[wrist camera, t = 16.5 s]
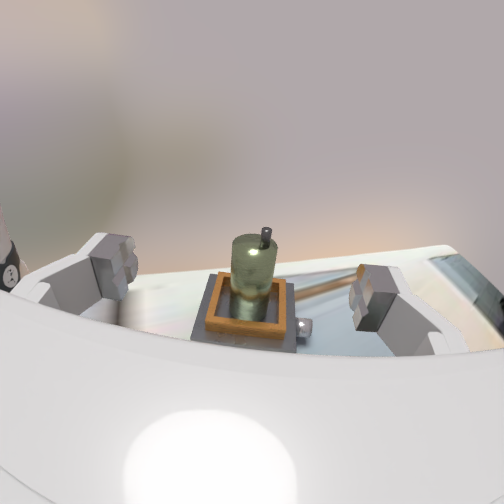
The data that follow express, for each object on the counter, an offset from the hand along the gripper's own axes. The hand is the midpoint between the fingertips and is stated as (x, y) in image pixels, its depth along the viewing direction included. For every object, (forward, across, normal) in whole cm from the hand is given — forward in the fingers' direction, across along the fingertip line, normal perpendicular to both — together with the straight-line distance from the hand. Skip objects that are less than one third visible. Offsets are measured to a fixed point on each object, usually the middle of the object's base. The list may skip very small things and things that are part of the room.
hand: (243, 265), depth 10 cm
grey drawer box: (+22, +1, -30) cm, 37 cm away
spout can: (+22, 0, -24) cm, 33 cm away
